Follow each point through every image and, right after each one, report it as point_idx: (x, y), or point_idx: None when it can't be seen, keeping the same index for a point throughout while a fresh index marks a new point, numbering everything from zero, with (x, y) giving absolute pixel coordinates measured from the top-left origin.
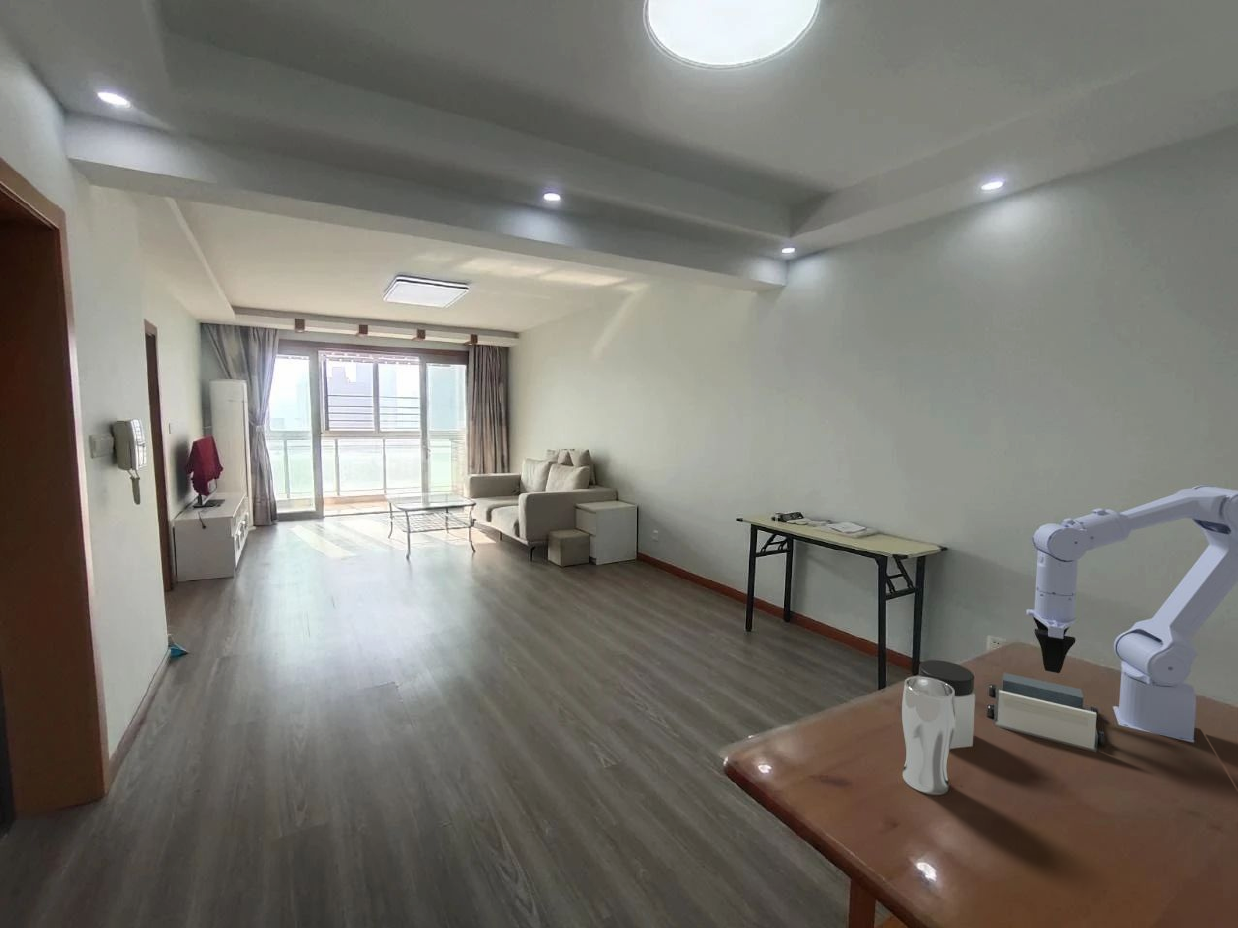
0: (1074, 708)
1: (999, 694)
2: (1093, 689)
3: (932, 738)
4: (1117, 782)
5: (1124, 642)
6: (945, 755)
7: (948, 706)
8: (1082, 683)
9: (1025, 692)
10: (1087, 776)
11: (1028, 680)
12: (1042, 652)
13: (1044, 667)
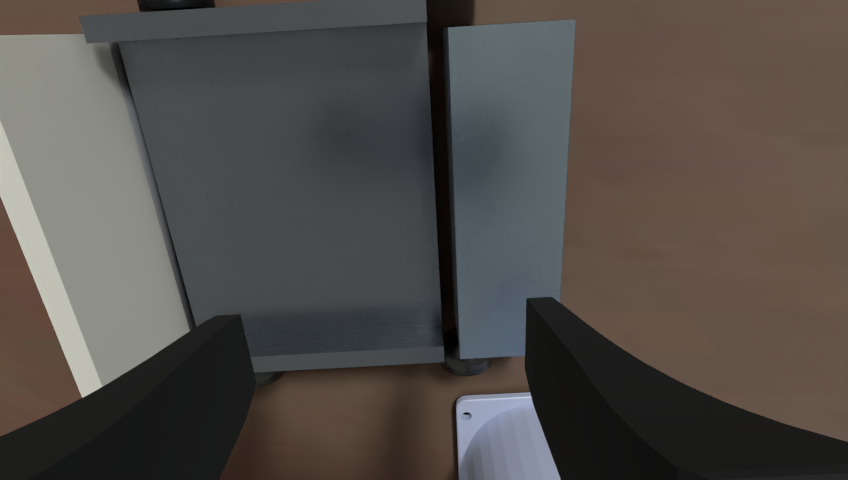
0: (85, 375)
1: None
2: (775, 341)
3: None
4: (55, 374)
5: None
6: None
7: None
8: (825, 311)
9: (449, 137)
10: (13, 314)
11: (529, 154)
12: (93, 393)
13: (202, 323)
